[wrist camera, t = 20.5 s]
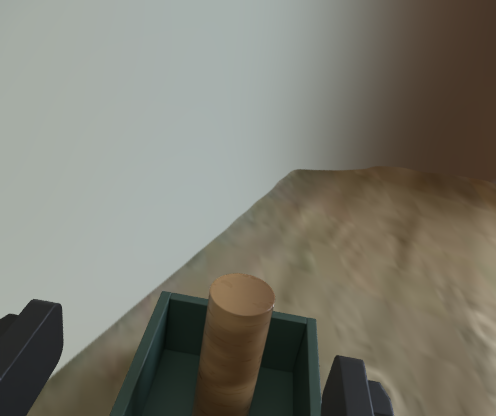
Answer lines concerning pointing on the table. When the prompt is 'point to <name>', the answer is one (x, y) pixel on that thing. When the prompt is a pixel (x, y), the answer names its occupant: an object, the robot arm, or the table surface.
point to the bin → (188, 355)
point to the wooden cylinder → (232, 345)
